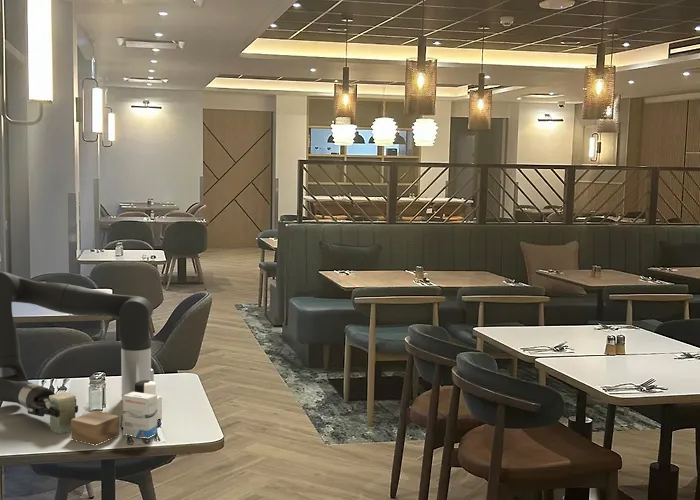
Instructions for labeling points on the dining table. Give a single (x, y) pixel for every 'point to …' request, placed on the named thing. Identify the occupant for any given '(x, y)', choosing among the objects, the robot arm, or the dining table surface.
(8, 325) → the robot arm
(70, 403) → the tea tin
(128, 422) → the ink box
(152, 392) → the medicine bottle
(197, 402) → the dining table surface
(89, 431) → the walnut block
